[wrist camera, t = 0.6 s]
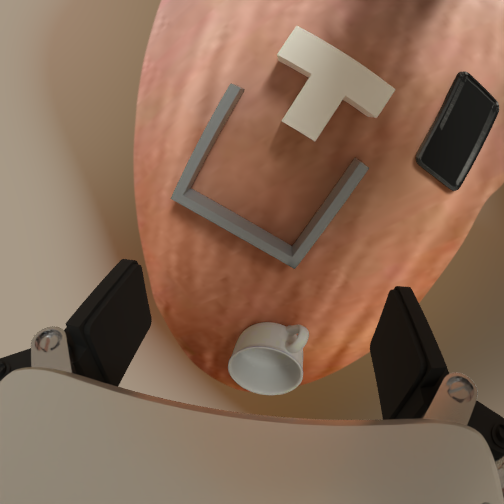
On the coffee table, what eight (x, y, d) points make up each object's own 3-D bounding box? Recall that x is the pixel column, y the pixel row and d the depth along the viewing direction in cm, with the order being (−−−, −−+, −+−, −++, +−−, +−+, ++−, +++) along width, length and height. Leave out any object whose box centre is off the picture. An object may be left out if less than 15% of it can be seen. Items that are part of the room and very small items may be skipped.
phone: (501, 105, 25) (456, 194, 32) (496, 105, 26) (452, 191, 33) (462, 67, 24) (414, 161, 31) (458, 67, 25) (411, 159, 32)
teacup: (267, 367, 51) (263, 403, 44) (222, 332, 48) (212, 369, 41) (332, 330, 45) (336, 369, 38) (288, 288, 42) (286, 325, 35)
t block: (295, 34, 27) (296, 25, 23) (384, 91, 29) (395, 89, 25) (251, 102, 31) (247, 102, 28) (340, 157, 33) (346, 162, 29)
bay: (235, 85, 30) (230, 83, 28) (363, 163, 33) (369, 168, 30) (179, 191, 37) (170, 198, 35) (294, 257, 40) (294, 269, 37)
